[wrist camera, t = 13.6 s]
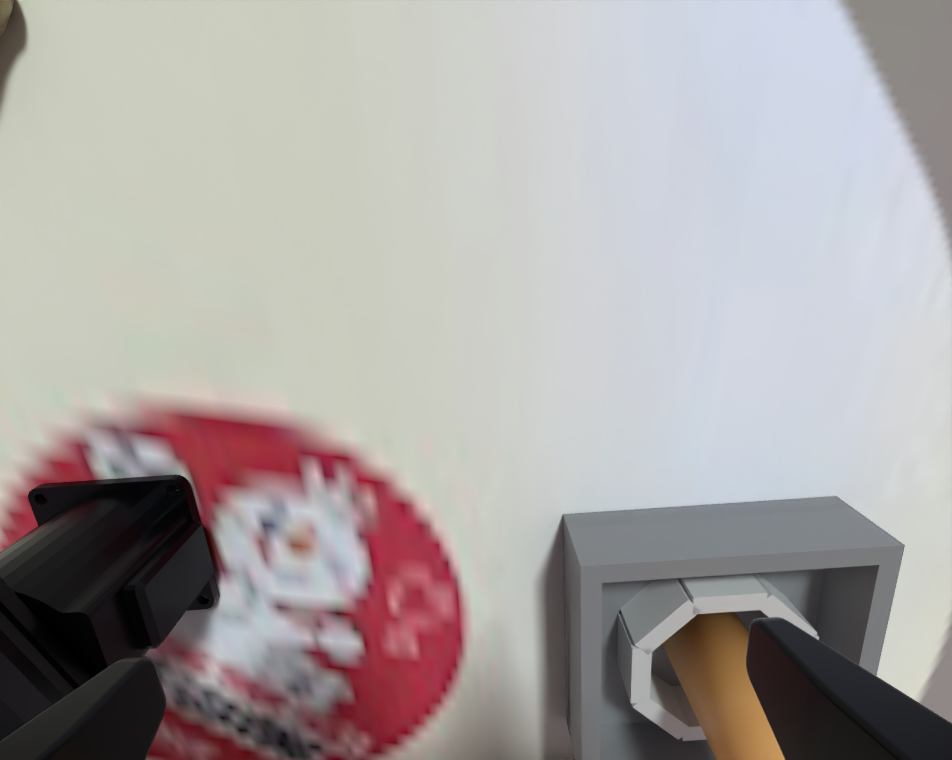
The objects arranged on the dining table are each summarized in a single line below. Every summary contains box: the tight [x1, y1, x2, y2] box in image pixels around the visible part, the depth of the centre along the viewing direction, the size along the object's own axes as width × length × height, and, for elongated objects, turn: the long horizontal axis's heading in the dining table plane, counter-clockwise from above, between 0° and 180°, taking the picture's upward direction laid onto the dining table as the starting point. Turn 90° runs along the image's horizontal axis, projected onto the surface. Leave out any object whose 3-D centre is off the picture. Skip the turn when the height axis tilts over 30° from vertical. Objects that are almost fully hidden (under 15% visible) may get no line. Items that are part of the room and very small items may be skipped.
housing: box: [563, 496, 905, 760], centre depth 22 cm, size 12×12×4 cm
